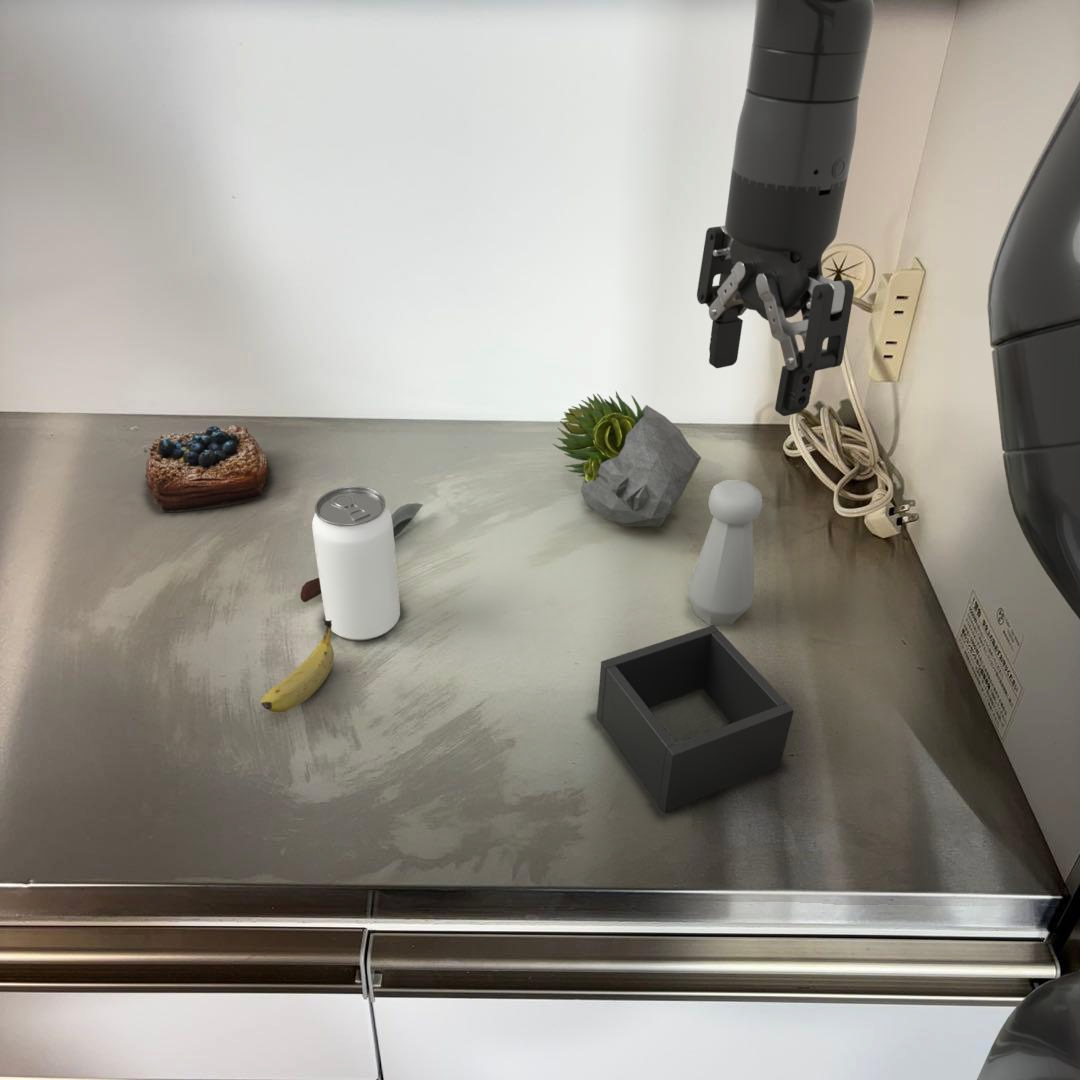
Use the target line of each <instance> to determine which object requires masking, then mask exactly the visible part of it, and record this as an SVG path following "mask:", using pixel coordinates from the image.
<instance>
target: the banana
mask: <svg viewBox="0 0 1080 1080" xmlns="http://www.w3.org/2000/svg"><path fill="white" fill-rule="evenodd" d="M322 622H324V624H323V625H324V626H326V629H325V633H324V634H323V637H322V639H321V641H320V642H319V643H318V644H317V646H316V647H315V648H314V650H312V652H311V653H310V654H309V656H308V657H307V658H306V659H304V660H303V662H301V664H300V665H298V667H296V668H295V669H294V670H293V671H292V672H291V673H290V674H289V675H288V676H287V677H286V678H285V679H283V680H281V681H280V682H279V683H277V684H276V685H274V686H273V687H272V688H271V689H270V690H268V691H267V692H266V693H265V694H264V695H263V697H262V699H261V701H260V704H261V706H262V707H263V708H264V709H266V710H267V711H270V712H272V713H284V712H286V711H289V710H291V709H293V708H295V707H297V706H299V705H301V704H302V703H303V702H304V701H306V700H308V699H309V698H310V697H311V696H312V695H313V694H314V693H315V692H316V691H317V690H318V689H319V688H320V687H321V686H322V684H323V683H324V682H325V680H327V678H328V675H329V674H330V672H331V670H332V667H333V663H334V659H335V658H334V657H335V654H334V649H333V645H332V642H331V637H332V631H331V626H332V624H331V622H332V620H330V621H327V620H326V618H323V619H322Z"/></svg>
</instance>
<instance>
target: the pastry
mask: <svg viewBox="0 0 1080 1080" xmlns="http://www.w3.org/2000/svg"><path fill="white" fill-rule="evenodd" d="M148 449H149V451H150V452H149V454H148V457H147V460H146V463H145V465H146V466H145V470H146V472H145V473H146V475H145V478H146V484H147V488H148V490H149V492H150V494H151V498H152V501H153V503H154V504H155V506H156V507H157V508H158V509H159V510H160V511H161V512H162V513H163V512H164V513H182V512H191V511H199V510H208V509H215V508H222V507H228V506H236V505H240V504H244V503H249V502H251V501H255V500H257V499H259V498H260V497H261V495H263V494H264V492H265V491H266V489H267V488H268V485H269V474H268V471H269V467H268V460H267V456H266V454H265V452H264V451H263V448H262V447H261V445H259V443H258V441H257V440H256V439H255V437H254V436H252V434H251V433H249V431H248V428H247V427H246V426H242V427H241V426H237V425H236V424H233V425H229V426H224V427H223V428H220V427H218V426H216V425H212V426H209V427H207V428H206V430H205V431H191V432H190V433H189V432H188V433H183V432H181V433H178V434H177V433H175V432H172V433H169V434H166V433H165V434H160V437H159V438H158V439H154V441H153V442H152V444H151V445H150V446H149V448H148Z"/></svg>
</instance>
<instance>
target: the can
mask: <svg viewBox="0 0 1080 1080" xmlns="http://www.w3.org/2000/svg"><path fill="white" fill-rule="evenodd" d="M391 515H392V514H391V511H390V509H389V508H388V507H387V506H386V499H385V497H384V496H383V495H382V494H381V492H379V491H378V490H376V489H373V488H371V487H366V486H362V485H361V486H360V485H349V486H342V487H338V488H334V489H332V490H329V491H327V492H325V493H324V494H323V495H321V496H320V497H319V498H318V499H317V500H316V502H315V504H314V516H313V518H312V522H311V523H312V524H311V529H312V536H313V544H314V550H315V551H314V552H315V559H316V565H317V566H316V567H317V573H318V578H319V580H320V586H321V598H322V606H323V611H324V619H325V620H327V621H330V620H332V622H331V624H332V626H331V633H334V634H335V635H337V636H338V637H341V638H343V639H344V640H345V639H346V640H349V641H356V642H360V641H363V642H364V641H369V640H370V641H371V640H374V639H378V638H381V636H384V635H386V634H387V633H388V632H390V631H391V630H392V629H393V628H394V627H395V626H396V625H397V623H398V621H399V620H400V617H401V605H400V604H401V603H400V592H399V591H400V590H399V580H398V579H399V577H398V567H397V557H396V556H397V555H396V544H395V538H394V533H393V523H392V517H391Z"/></svg>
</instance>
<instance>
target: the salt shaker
mask: <svg viewBox="0 0 1080 1080" xmlns="http://www.w3.org/2000/svg"><path fill="white" fill-rule="evenodd" d="M709 493H710V494H709V497H708V507H709V513H710V515H711V516H713V517H712V520H711V522H710V525H709V528H708V532H707V534H706V537H705V540H704V542H703V544H702V548H701V550H700V552H699V555H698V557H697V560H696V563H695V565H694V569H693V571H692V573H691V575H690V578H689V581H688V583H687V593H688V599H689V602H690V604H691V608H692V610H693V612H694V615H695V616H696V617H698V618H699V619H701V620H702V621H704V622H705V623H706V624H708V626H712V625H715V626H732V625H733V624H734V623H735V622H736V621H737V620H738V619H739V618H740V617H742V615H744V613H745V612H747V611H748V610H749V609H750V607H751V605H752V602H753V601H754V598H755V596H756V587H755V561H754V531H753V529H754V528H753V522H755V521H756V520H757V519H758V517H759V516H760V513H761V512H762V508H763V497H762V494H761V491H760V490H759V489H758V488H756V487H755V485H753V484H752V483H750V482H747V481H744V480H740V479H739V480H738V479H727V480H723V481H721V482H719V483H716V484H715V485H714V486H713V487H712V489H711V491H710V492H709Z"/></svg>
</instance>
